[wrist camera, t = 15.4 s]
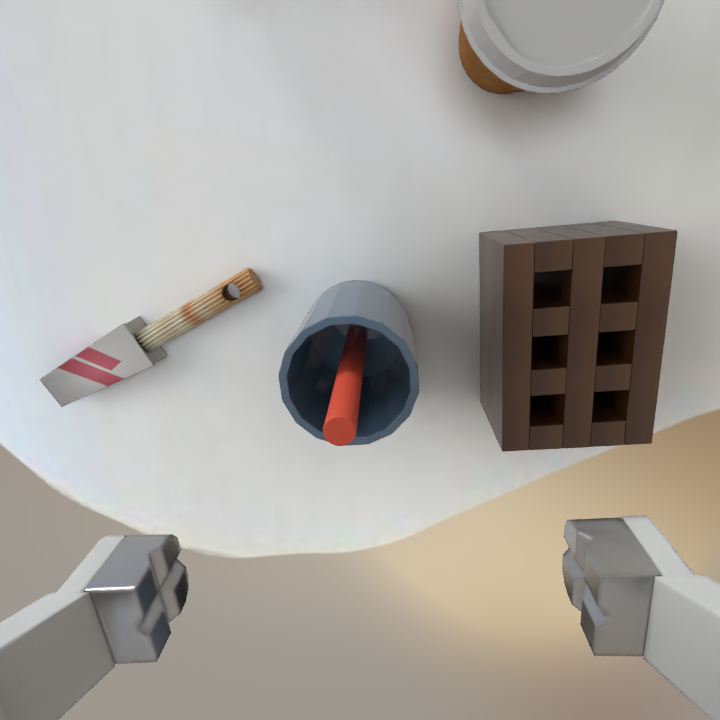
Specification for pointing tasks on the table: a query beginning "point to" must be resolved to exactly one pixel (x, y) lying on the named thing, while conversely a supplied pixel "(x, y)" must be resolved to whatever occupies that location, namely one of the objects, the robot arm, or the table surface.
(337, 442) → the straw
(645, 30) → the disposable coffee cup
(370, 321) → the tumbler
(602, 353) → the caddy
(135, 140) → the table surface
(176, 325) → the grey and wooden tool
